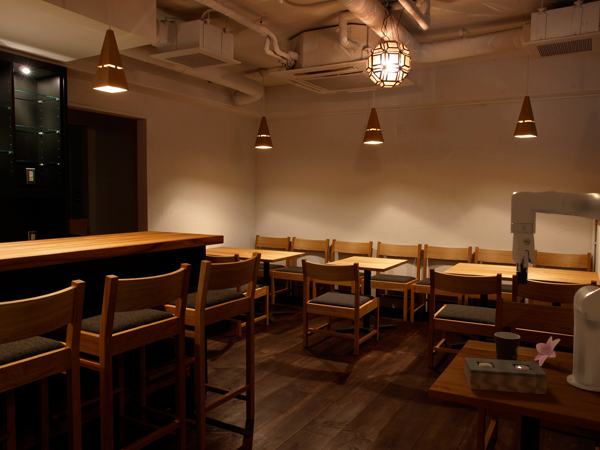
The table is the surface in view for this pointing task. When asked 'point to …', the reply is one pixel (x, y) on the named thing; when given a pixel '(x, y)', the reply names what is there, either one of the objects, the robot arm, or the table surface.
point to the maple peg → (485, 365)
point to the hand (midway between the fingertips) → (521, 283)
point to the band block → (505, 376)
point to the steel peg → (521, 367)
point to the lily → (546, 350)
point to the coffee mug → (507, 345)
